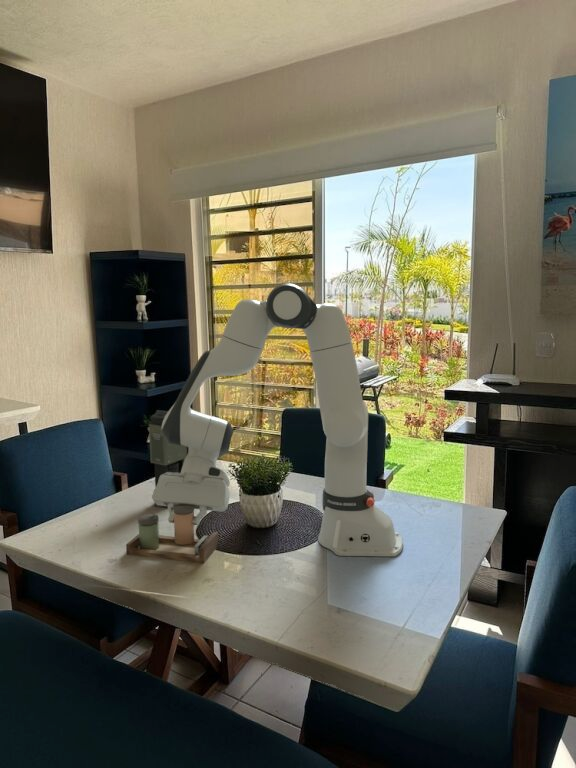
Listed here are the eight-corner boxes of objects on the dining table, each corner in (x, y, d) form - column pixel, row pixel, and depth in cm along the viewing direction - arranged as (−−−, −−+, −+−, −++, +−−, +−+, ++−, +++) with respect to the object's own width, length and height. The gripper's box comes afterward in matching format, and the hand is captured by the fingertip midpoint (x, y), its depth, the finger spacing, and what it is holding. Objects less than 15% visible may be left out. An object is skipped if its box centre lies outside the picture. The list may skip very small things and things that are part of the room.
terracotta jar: (197, 537, 142) (197, 504, 140) (190, 545, 137) (189, 511, 135) (179, 535, 143) (178, 502, 141) (170, 543, 138) (169, 509, 136)
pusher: (211, 547, 142) (210, 536, 141) (201, 558, 136) (201, 546, 135) (204, 546, 142) (204, 535, 142) (194, 558, 136) (194, 546, 136)
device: (167, 509, 169) (164, 414, 165) (149, 504, 173) (145, 412, 168) (196, 495, 181) (194, 407, 177) (179, 491, 185) (176, 404, 180)
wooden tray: (218, 546, 143) (218, 532, 143) (204, 564, 134) (203, 549, 133) (145, 538, 148) (144, 525, 147) (126, 555, 138) (125, 540, 138)
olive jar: (163, 544, 144) (162, 515, 143) (154, 552, 139) (152, 523, 138) (145, 542, 145) (144, 513, 144) (135, 550, 140) (134, 521, 139)
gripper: (157, 465, 146) (141, 514, 138) (230, 471, 142) (217, 522, 134) (165, 476, 151) (150, 524, 143) (235, 482, 147) (223, 531, 139)
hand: (183, 523), depth 138 cm, fingers closed on terracotta jar, 5 cm apart
